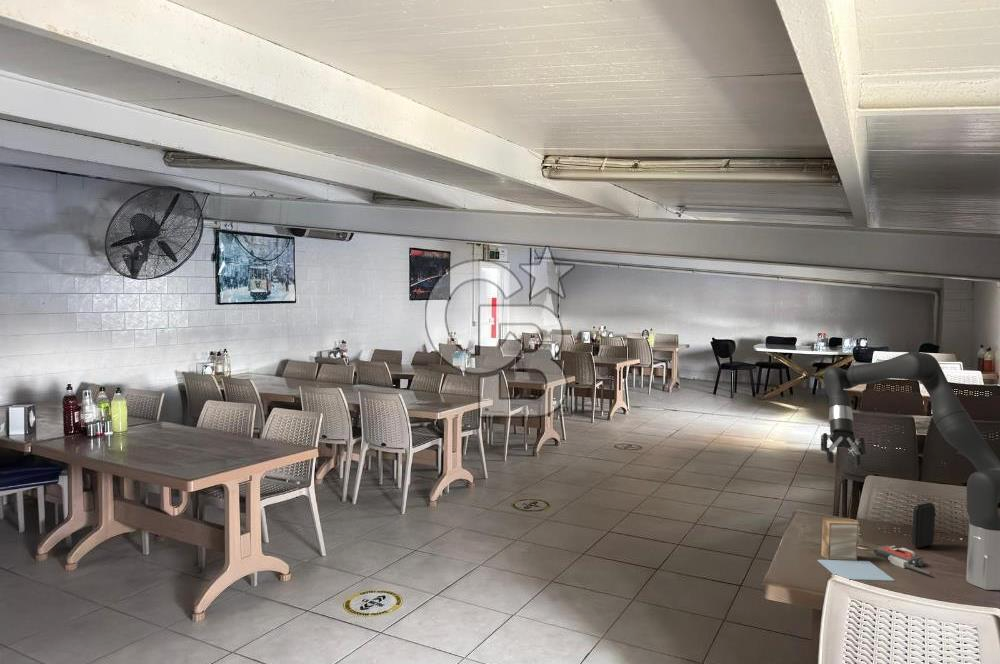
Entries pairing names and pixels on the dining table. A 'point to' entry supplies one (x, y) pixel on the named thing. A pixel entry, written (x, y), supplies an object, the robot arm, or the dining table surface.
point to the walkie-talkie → (901, 557)
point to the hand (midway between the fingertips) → (844, 465)
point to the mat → (856, 570)
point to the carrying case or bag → (923, 525)
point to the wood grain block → (839, 539)
